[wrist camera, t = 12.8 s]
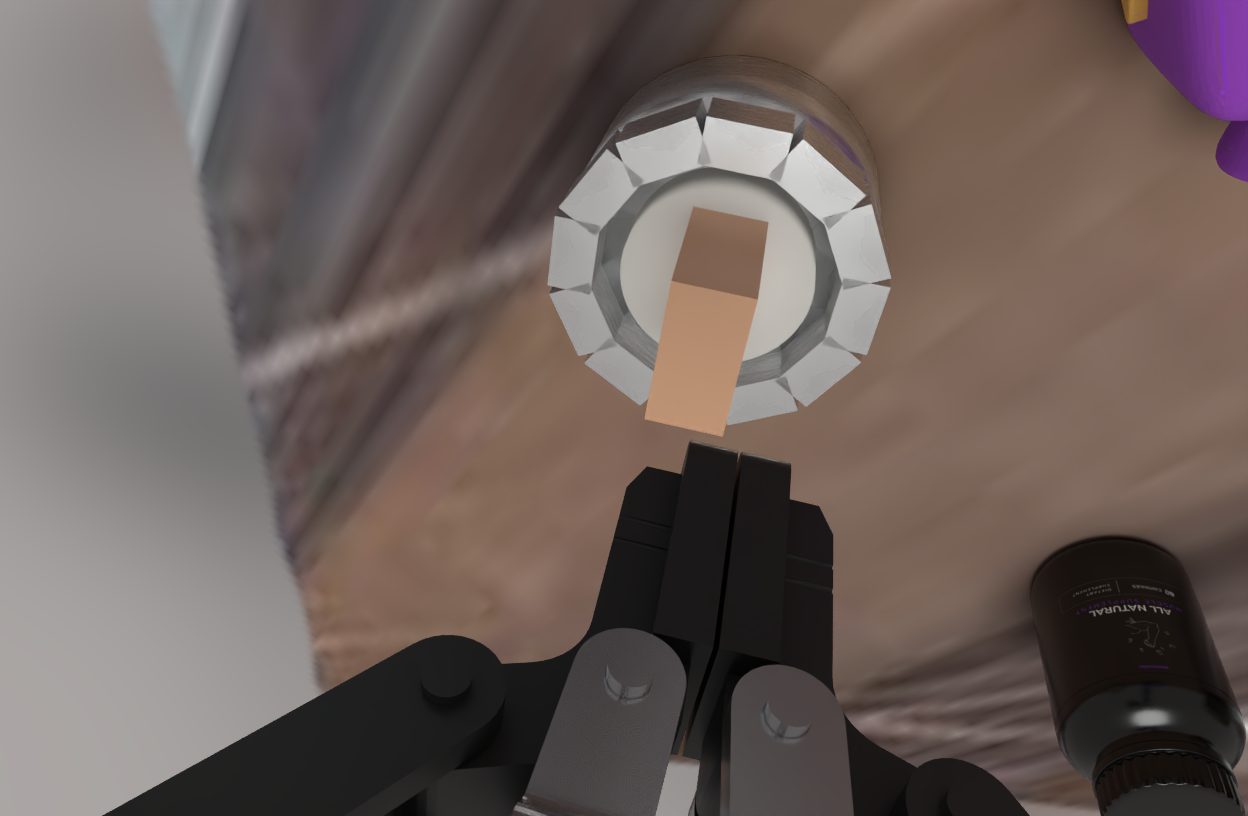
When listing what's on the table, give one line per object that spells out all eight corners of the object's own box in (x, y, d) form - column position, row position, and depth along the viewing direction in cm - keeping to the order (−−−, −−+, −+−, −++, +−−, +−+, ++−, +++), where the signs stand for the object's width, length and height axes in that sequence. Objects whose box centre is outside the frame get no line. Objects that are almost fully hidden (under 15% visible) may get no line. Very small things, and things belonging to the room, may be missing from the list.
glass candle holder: (612, 27, 34) (568, 87, 28) (918, 89, 33) (935, 162, 28) (578, 293, 41) (537, 384, 35) (833, 349, 40) (832, 450, 34)
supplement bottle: (1127, 509, 42) (1214, 741, 32) (1218, 595, 44) (1325, 839, 34) (995, 579, 46) (1037, 807, 36) (1083, 656, 47) (1146, 892, 38)
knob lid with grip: (644, 148, 31) (603, 239, 26) (839, 188, 31) (839, 289, 25) (617, 315, 35) (577, 425, 29) (790, 353, 34) (781, 471, 29)
